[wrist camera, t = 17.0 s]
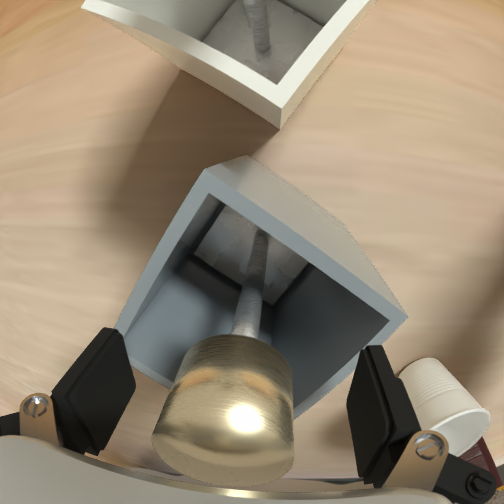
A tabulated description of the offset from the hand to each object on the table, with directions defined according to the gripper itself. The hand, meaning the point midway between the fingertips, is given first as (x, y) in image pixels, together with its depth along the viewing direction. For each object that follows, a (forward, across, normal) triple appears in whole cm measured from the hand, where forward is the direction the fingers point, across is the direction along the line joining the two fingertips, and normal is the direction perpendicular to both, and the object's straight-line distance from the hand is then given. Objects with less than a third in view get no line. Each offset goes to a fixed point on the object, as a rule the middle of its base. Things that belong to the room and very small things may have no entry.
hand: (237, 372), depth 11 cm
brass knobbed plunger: (+16, 0, 0) cm, 16 cm away
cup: (+17, -19, +16) cm, 30 cm away
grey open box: (+17, 0, 0) cm, 17 cm away
